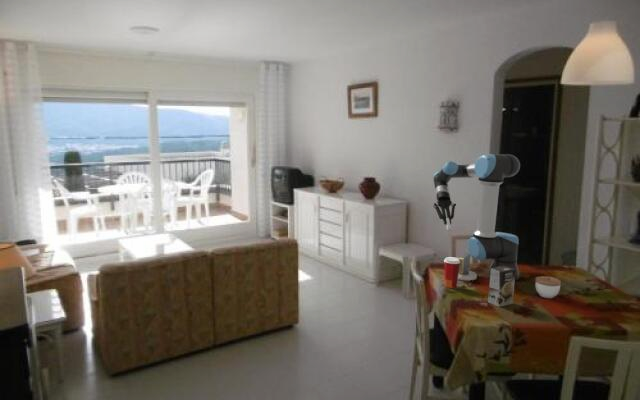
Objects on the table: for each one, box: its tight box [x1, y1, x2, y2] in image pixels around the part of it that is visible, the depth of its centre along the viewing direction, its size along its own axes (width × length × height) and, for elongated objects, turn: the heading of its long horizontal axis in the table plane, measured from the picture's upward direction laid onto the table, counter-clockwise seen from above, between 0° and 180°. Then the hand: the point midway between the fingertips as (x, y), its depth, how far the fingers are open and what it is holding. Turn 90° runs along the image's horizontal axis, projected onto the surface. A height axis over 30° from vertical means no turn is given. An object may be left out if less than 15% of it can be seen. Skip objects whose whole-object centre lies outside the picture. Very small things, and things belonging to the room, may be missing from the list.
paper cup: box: [443, 256, 460, 289], centre depth 222 cm, size 8×8×14 cm
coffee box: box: [487, 266, 516, 307], centre depth 201 cm, size 9×6×16 cm
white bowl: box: [534, 275, 562, 299], centre depth 211 cm, size 11×11×9 cm
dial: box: [457, 252, 471, 275], centre depth 237 cm, size 14×6×9 cm, turn 146°
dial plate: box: [457, 270, 478, 282], centre depth 238 cm, size 14×14×2 cm
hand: (448, 229), depth 250 cm, fingers closed
